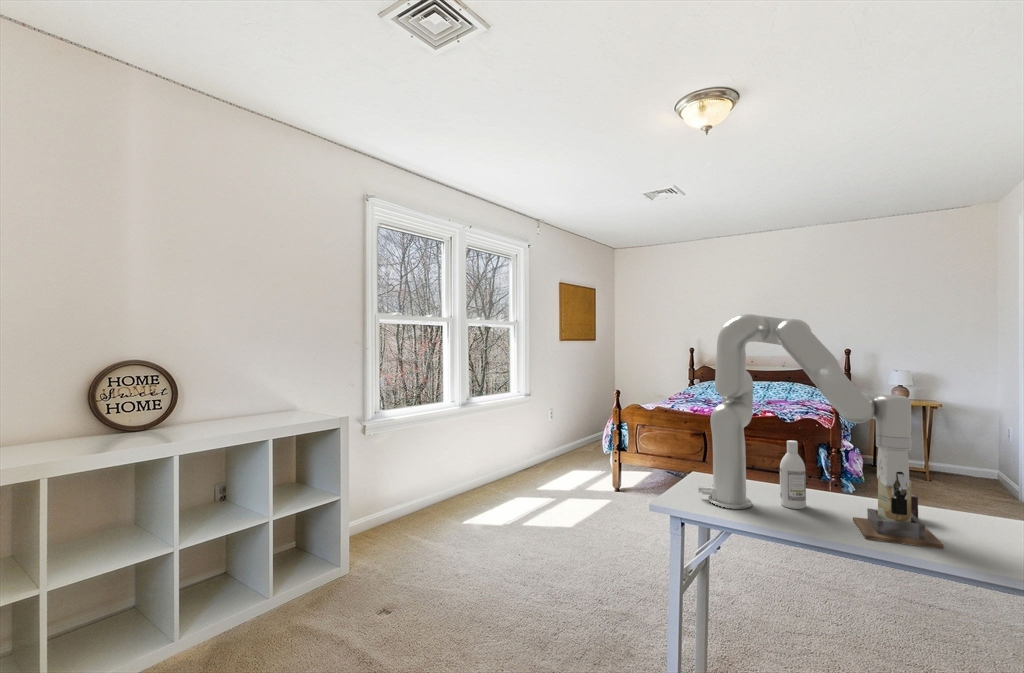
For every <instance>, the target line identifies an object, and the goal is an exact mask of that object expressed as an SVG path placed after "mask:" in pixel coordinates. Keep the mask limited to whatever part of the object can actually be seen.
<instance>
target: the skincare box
mask: <svg viewBox="0 0 1024 673" xmlns="http://www.w3.org/2000/svg"><path fill="white" fill-rule="evenodd" d="M877 480H878V481H877V482H878V484H877V488H878V489H877V509H878V516H879V517H880V518H881V519H882V520H891V521H900V522H909V523H911V494H912V484H913V482H912V480H910V479H909V487H908V488H907V491H906V492H907V493H906V494H907V515H900V514H893V513H892V512H891V498H893V495H892V489H891V486H890V487H886V486H885V485H884V484H883V483H881V482H880V475H878V478H877ZM894 486H899V484H898V481H895V484H894ZM906 486H907V485H906ZM897 490H899V489H895V491H897Z"/></svg>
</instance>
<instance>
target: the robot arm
mask: <svg viewBox="0 0 1024 673" xmlns="http://www.w3.org/2000/svg"><path fill="white" fill-rule="evenodd" d="M750 342H751V343H754V342H756V343H764V344H771V345H778V346H781V347H782V348H783V349H784V350H785V351H786V353H788V354H789V356H791V358H792V359H793V360H794V361H795V363H796V364H797V365H798V366H799V367H800V368H801V369H802V370H803V372H805V374H806V375H807V376H808V377H809V379H810V381H811V382H812V383H813V384H814V385H815V386H816V388H817V389H818V390H819V392H820V393H821V394H822V395H823V397H824V398H825V399H826V400H827V402H828V403H829V404H831V407H833V409H835V411H836V412H837V413H838V414H839V415H840V416H841V417H842V418H844V419H845V420H846V421H848V422H850V423H853V424H864V423H865V422H866V423H867V422H868V421H869V420H871V419H873V420H874V421H875V447H877V448H878V449H877V459H876V460H877V462H876V478H877V479H878V475H880V482H881V483H883V484H884V485H885V486H886V487H890V486H891V489H892V495H893V498H891V512H892V513H893V514H900V515H907V494H906V493H907V492H906V491H907V488H908V487H909V480H910V466H909V463H910V462H909V454H908V451H912V448H913V446H912V442H913V441H912V402H911V399H910V398H909V397H908V396H904V395H899V394H898V395H895V394H873V393H867V392H862V391H860V390H859V389H858V388H857V387H856V385H855V384H853V383H852V381H851V380H850V379H849V378H848V376H847V375H846V374H845V373H844V371H843V369H842V368H841V366H840V364H839V361H838V360H837V358H836V357H835V355H834V354H833V353H832V352H831V351H830V350H829V349H828V348H827V347H826V345H824V344H823V343H822V342H821V341H820V339H818V337H817V336H816V335H815V334H814V333H813V331H812V329H811V327H810V325H809V324H808V323H807V322H806V321H804V320H801V319H796V318H784V317H783V318H781V317H773V316H766V315H760V314H752V313H751V314H748V313H747V314H740V315H738V316H735V317H734V318H731V319H730V320H728V321H727V322H726V323H725V324H724V325H723V326H722V327H721V329H720V331H719V333H718V336H717V339H716V357H715V358H716V359H715V377H714V387H715V391H716V393H717V394H718V395H719V396H721V403H720V404H718V405H717V406H715V408H713V410H712V412H711V415H710V418H709V419H710V422H709V423H710V428H711V435H712V440H711V441H712V482H713V483H712V484H711V485H712V486H708V487H705V486H701V485H700V486H698V493H701V495H707V496H708V497H707V499H708V500H709V501H710V502H711V504H712V503H713V504H715V505H714V506H716V505H718V506H717V507H719V506H721V507H720V508H723V507H725V508H724V509H730V508H731V509H730V510H732V509H733V510H743V509H749V508H750V507H752V506H753V505H752V504H753V502H752V500H751V499H750V498H748V497H747V461H746V460H747V459H746V458H747V457H746V456H747V454H746V439H745V431H744V430H745V429H744V428H745V427H747V426H748V425H750V423H751V421H752V417H753V404H754V402H753V401H754V400H753V399H754V381H753V378H752V375H751V374H750V372H749V371H748V370H746V358H747V356H746V347H747V344H748V343H750ZM895 481H898V484H899V486H894V484H895ZM906 485H907V486H906ZM895 489H899V490H897V491H895ZM709 501H708V502H709ZM710 502H709V503H710ZM713 504H712V505H713Z"/></svg>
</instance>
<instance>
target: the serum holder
mask: <svg viewBox="0 0 1024 673" xmlns="http://www.w3.org/2000/svg"><path fill="white" fill-rule="evenodd" d="M866 509H867V510H866V511H867V514H866V515H867V518H866V517H865V518H864V517H855V516H853V517H852V521H854V522H853V523H854V524H855V526H856V527H857V529H858V528H859V529H858V530H859V532H860V533H861V535H862V536H863V537H864V539H866V540H870V541H878V542H879V541H880V542H887V543H893V542H895V544H902V543H904V545H910V544H911V546H918V545H919V547H925V548H935V549H936V548H937V549H945V546H944V543H943V542H941V540H939V539H938V538H937V536H936V535H935V534H933V533H932V532H931V531H930V529H928V528H927V527H926V525H925V524H924V523H923V522H922V521H921V520H920V519H919V518H918V519H917V518H916V517H915V516H914V515H913V514H912V513H911V523H909V522H900V521H891V520H882V519H881V518H880V517H879V516H878V508H869V507H868V508H866Z"/></svg>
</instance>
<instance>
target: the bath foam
mask: <svg viewBox="0 0 1024 673" xmlns="http://www.w3.org/2000/svg"><path fill="white" fill-rule="evenodd" d="M798 446H799V444H798V441H797V440H791V439H790V440H786V453H785V455H784V456H783V457H782V459H781V461H780V464H779V495H780V496H779V500H780V501H779V502H780V505H781V506H783V507H785V508H788V509H792V510H803V509H805V508H806V507H807V492H806V491H807V489H806V488H807V487H806V486H807V482H806V480H807V479H806V475H807V474H806V473H807V472H806V470H807V469H806V465H805V462H804V460H803V458H801V456H800V454H799V453H798V452H799V451H798V450H799V449H798V448H799V447H798Z"/></svg>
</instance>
